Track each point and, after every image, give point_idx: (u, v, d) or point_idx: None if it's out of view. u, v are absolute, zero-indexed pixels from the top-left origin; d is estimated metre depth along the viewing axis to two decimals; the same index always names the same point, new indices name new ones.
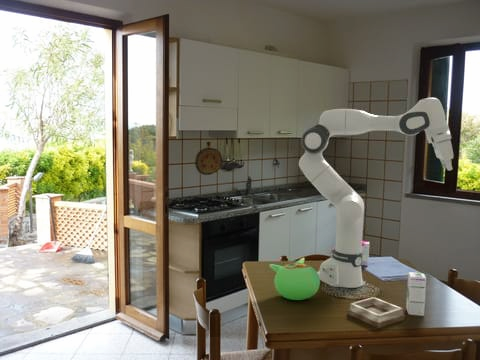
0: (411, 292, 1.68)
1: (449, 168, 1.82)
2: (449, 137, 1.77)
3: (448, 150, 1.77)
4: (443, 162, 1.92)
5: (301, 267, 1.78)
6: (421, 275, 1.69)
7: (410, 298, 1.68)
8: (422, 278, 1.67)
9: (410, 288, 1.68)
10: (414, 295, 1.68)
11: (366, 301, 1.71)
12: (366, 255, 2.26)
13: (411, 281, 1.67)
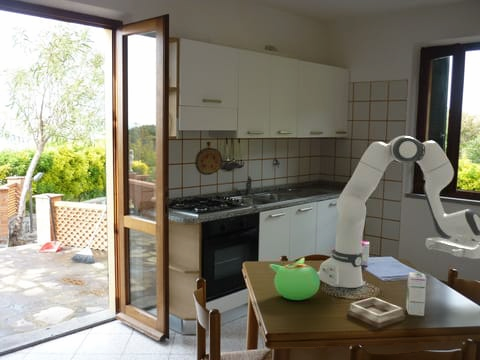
0: (411, 292, 1.68)
1: (455, 252, 1.73)
2: None
3: (477, 254, 1.74)
4: None
5: (301, 267, 1.78)
6: (421, 275, 1.69)
7: (410, 298, 1.68)
8: (422, 278, 1.67)
9: (410, 288, 1.68)
10: (414, 295, 1.68)
11: (366, 301, 1.71)
12: (366, 255, 2.26)
13: (411, 281, 1.67)
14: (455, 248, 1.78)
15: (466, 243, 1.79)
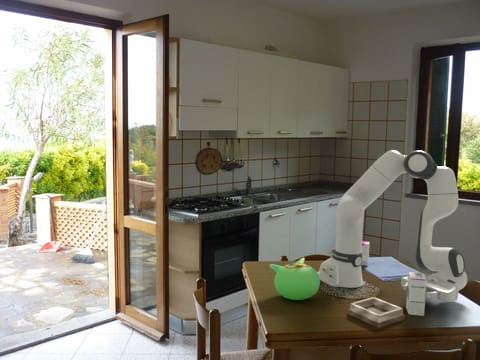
0: (411, 292, 1.68)
1: (429, 295, 1.66)
2: (456, 298, 1.71)
3: (453, 297, 1.67)
4: None
5: (301, 267, 1.78)
6: (421, 275, 1.69)
7: (410, 298, 1.68)
8: (422, 278, 1.67)
9: (410, 288, 1.68)
10: (414, 295, 1.68)
11: (366, 301, 1.71)
12: (366, 255, 2.26)
13: (411, 281, 1.67)
14: (430, 290, 1.71)
15: (442, 284, 1.73)
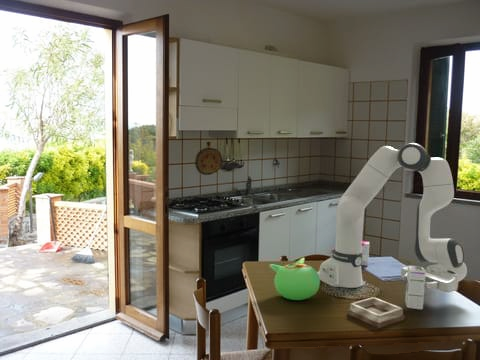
0: (410, 285, 1.68)
1: (429, 285, 1.66)
2: (455, 289, 1.70)
3: (452, 287, 1.67)
4: None
5: (301, 267, 1.78)
6: (421, 268, 1.69)
7: (409, 291, 1.68)
8: (422, 271, 1.66)
9: (409, 281, 1.68)
10: (413, 288, 1.68)
11: (366, 301, 1.71)
12: (366, 255, 2.26)
13: (410, 275, 1.67)
14: (430, 280, 1.71)
15: (442, 275, 1.72)
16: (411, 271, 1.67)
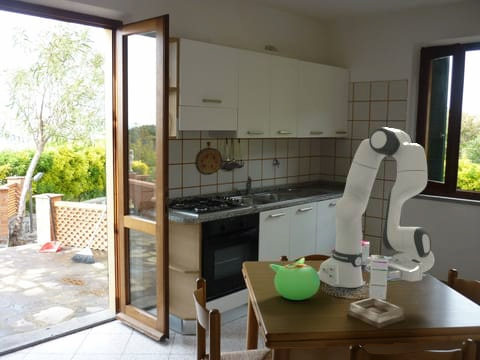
0: (372, 275, 1.62)
1: (391, 274, 1.60)
2: (420, 278, 1.65)
3: (416, 276, 1.61)
4: None
5: (301, 267, 1.78)
6: (383, 257, 1.63)
7: (371, 281, 1.62)
8: (384, 260, 1.61)
9: (371, 271, 1.62)
10: (376, 278, 1.62)
11: (366, 301, 1.71)
12: (366, 255, 2.26)
13: (372, 264, 1.62)
14: (394, 269, 1.65)
15: (406, 264, 1.66)
16: (373, 260, 1.61)
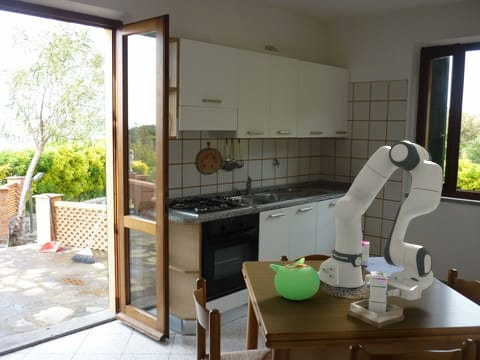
0: (372, 292, 1.63)
1: (390, 293, 1.61)
2: (419, 297, 1.65)
3: (415, 295, 1.61)
4: None
5: (301, 267, 1.78)
6: (383, 274, 1.63)
7: (371, 298, 1.63)
8: (383, 277, 1.61)
9: (371, 288, 1.63)
10: (375, 295, 1.62)
11: (366, 301, 1.71)
12: (366, 255, 2.26)
13: (371, 281, 1.62)
14: (393, 288, 1.65)
15: (405, 282, 1.67)
16: (372, 277, 1.62)
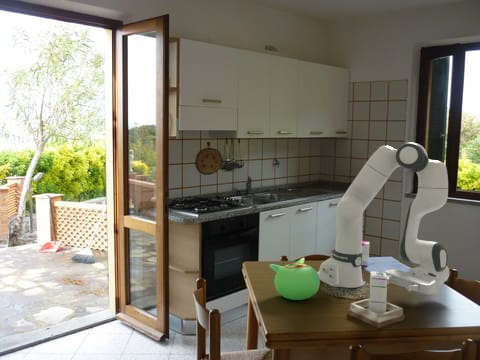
0: (372, 292, 1.63)
1: (410, 288, 1.67)
2: (436, 291, 1.72)
3: (433, 290, 1.68)
4: None
5: (301, 267, 1.78)
6: (383, 274, 1.63)
7: (371, 298, 1.63)
8: (383, 277, 1.61)
9: (371, 288, 1.63)
10: (375, 295, 1.62)
11: (366, 301, 1.71)
12: (366, 255, 2.26)
13: (371, 281, 1.62)
14: (411, 283, 1.72)
15: (423, 277, 1.74)
16: (372, 277, 1.62)
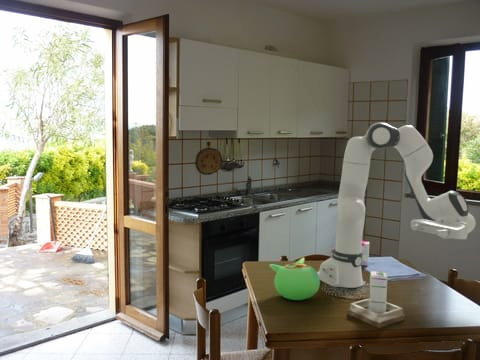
0: (372, 292, 1.63)
1: (440, 232, 1.69)
2: (465, 237, 1.73)
3: (462, 235, 1.70)
4: None
5: (301, 267, 1.78)
6: (383, 274, 1.63)
7: (371, 298, 1.63)
8: (383, 277, 1.61)
9: (371, 288, 1.63)
10: (375, 295, 1.62)
11: (366, 301, 1.71)
12: (366, 255, 2.26)
13: (371, 281, 1.62)
14: (440, 229, 1.74)
15: (451, 224, 1.75)
16: (372, 277, 1.62)
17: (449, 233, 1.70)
